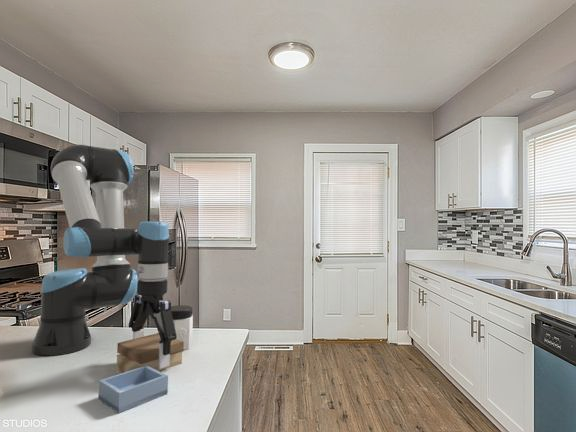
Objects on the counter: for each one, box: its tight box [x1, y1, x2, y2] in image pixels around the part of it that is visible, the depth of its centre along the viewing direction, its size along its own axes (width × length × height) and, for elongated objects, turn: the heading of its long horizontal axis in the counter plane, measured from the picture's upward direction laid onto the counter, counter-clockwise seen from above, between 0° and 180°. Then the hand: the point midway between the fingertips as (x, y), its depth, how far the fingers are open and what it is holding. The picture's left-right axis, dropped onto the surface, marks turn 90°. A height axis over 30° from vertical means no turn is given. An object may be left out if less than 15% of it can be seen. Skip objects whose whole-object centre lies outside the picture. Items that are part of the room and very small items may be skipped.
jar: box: [171, 304, 194, 351], centre depth 110 cm, size 9×8×12 cm
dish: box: [98, 365, 169, 414], centre depth 78 cm, size 9×11×4 cm
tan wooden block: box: [116, 351, 183, 374], centre depth 94 cm, size 8×14×4 cm, turn 142°
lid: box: [116, 332, 185, 364], centre depth 94 cm, size 12×12×2 cm
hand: (150, 360), depth 94 cm, fingers closed on lid, 12 cm apart
